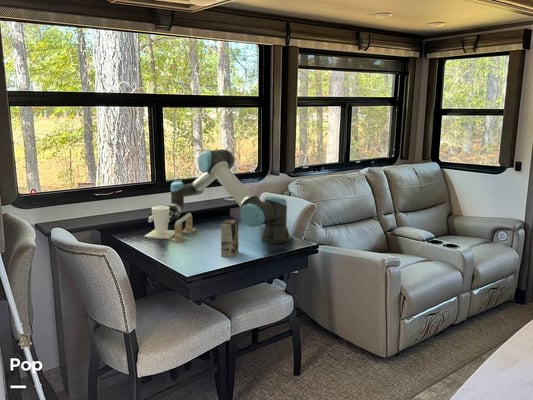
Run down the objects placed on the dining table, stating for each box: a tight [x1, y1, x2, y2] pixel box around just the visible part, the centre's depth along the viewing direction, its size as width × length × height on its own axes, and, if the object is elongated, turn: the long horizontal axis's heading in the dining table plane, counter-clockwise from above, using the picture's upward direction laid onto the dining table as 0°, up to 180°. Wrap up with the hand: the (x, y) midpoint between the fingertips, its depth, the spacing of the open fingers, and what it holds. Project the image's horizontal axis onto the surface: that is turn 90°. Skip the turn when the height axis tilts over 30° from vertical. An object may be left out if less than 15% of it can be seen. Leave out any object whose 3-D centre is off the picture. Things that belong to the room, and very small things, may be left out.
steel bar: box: [174, 212, 192, 225], centre depth 249 cm, size 22×2×2 cm, turn 172°
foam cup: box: [151, 205, 170, 232], centre depth 251 cm, size 10×9×13 cm
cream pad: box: [144, 228, 175, 240], centre depth 253 cm, size 14×14×1 cm
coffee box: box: [220, 219, 239, 258], centre depth 218 cm, size 9×6×16 cm
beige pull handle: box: [171, 215, 196, 243], centre depth 250 cm, size 23×6×9 cm, turn 172°
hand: (157, 220), depth 247 cm, fingers closed on foam cup, 9 cm apart
